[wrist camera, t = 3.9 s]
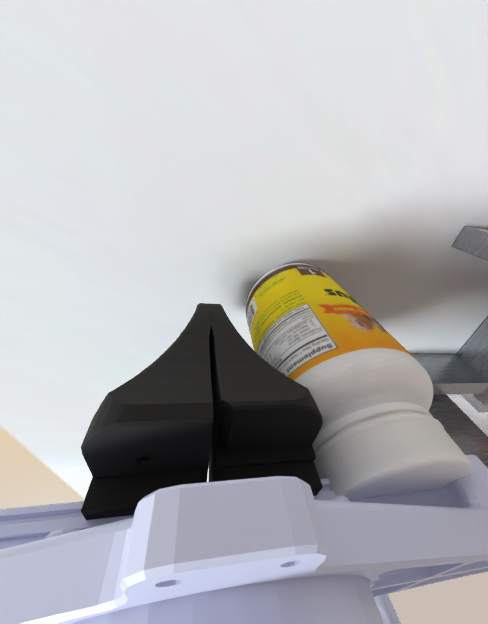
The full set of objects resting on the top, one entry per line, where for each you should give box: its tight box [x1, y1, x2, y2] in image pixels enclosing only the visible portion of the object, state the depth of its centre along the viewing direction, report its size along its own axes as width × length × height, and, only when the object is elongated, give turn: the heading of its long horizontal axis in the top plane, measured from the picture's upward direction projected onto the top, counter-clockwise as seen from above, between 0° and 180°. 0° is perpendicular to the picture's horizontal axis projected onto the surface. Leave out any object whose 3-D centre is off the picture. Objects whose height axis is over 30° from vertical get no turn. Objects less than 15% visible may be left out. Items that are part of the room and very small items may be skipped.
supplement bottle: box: [246, 263, 473, 501], centre depth 10 cm, size 6×6×10 cm
